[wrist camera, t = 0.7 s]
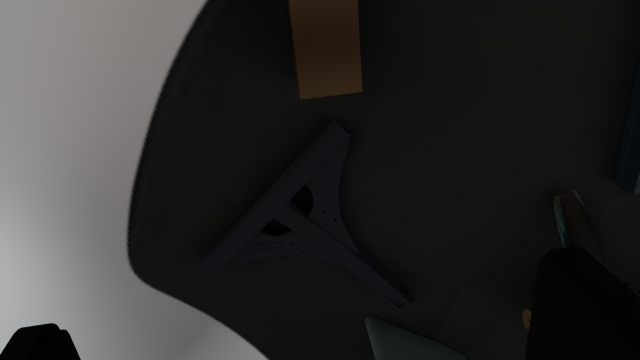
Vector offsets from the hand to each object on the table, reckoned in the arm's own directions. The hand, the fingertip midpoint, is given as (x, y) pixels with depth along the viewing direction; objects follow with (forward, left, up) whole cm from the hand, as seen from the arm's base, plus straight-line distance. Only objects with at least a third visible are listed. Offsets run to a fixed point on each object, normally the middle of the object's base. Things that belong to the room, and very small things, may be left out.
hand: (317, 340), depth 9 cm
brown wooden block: (-3, +3, -22) cm, 23 cm away
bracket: (+13, +3, -22) cm, 26 cm away
